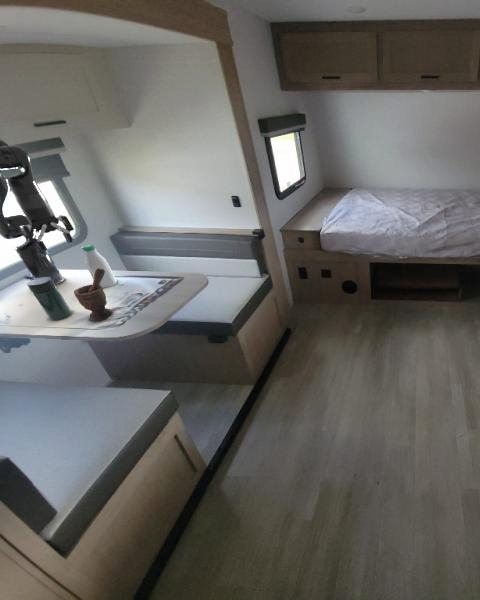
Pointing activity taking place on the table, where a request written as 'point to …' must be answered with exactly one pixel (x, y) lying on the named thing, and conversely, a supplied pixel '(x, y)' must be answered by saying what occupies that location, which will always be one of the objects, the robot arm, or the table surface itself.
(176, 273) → the table surface
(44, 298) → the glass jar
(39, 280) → the lid
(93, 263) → the milk bottle
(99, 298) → the mortar and pestle
